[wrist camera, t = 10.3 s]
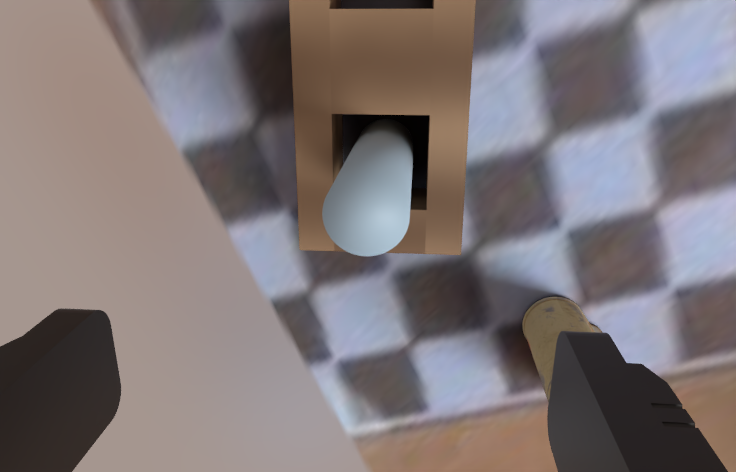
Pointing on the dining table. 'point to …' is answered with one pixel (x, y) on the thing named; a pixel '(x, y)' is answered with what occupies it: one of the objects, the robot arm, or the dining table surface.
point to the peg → (372, 191)
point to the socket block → (383, 105)
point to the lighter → (551, 331)
